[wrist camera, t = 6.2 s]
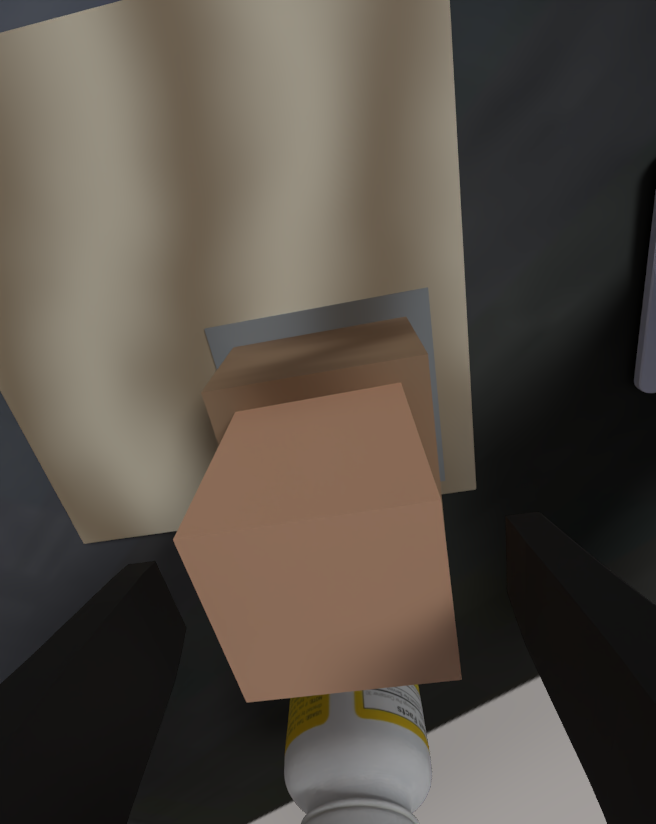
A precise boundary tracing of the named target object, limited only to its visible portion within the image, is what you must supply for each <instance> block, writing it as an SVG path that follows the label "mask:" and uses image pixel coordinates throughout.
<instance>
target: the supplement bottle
mask: <svg viewBox="0 0 656 824" xmlns="http://www.w3.org/2000/svg"><path fill="white" fill-rule="evenodd" d="M430 760H431V759H430V752H429V746H428V739H427V734H426V728H425V723H424V717H423V710H422V704H421V699H420V693H419V687H418V684H417V685H407V686H398V687H389V688H379V689H370V690H360V691H351V692H342V693H332V694H323V695H313V696H304V697H295V698H290V706H289V717H288V727H287V738H286V747H285V764H284V777H285V783H286V786H287V789H288V792H289V794H290V795H291V797H292V799H293V800H294V802H295V803H296V804H297V805H298V806H299V808H300V809H302V811H304V812H305V813H306V814H307V815H306V816H305V817H304V818H303V820H302V823H301V824H419V822H418V820H417V819H416V817H415V816H414V815H413V814H412V813H413V812H414V811H416V810H417V809H418V808H419V807H420V806H421V804H422V803H423V802H424V800H425V798H426V797H427V795H428V792H429V790H430V787H431V780H432V767H431V761H430Z"/></svg>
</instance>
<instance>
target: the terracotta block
mask: <svg viewBox="0 0 656 824" xmlns="http://www.w3.org/2000/svg"><path fill="white" fill-rule="evenodd" d="M173 541H174V543H175V546H176V548H177V550H178V552H179V554H180V557H181V559H182V561H183V563H184V565H185V568H186V570H187V572H188V574H189V576H190V579H191V581H192V583H193V585H194V587H195V590H196V592H197V594H198V596H199V599H200V601H201V603H202V605H203V607H204V610H205V612H206V614H207V616H208V618H209V621H210V623H211V625H212V627H213V629H214V632H215V634H216V636H217V638H218V640H219V643H220V645H221V647H222V649H223V652H224V654H225V656H226V658H227V660H228V663H229V665H230V667H231V669H232V671H233V674H234V676H235V678H236V680H237V682H238V685H239V687H240V689H241V691H242V693H243V696H244V698H245V700H246V702H247V703H248V702H257V701H266V700H276V699H285V698H295V697H304V696H313V695H323V694H332V693H342V692H351V691H360V690H370V689H379V688H389V687H398V686H407V685H417V684H426V683H436V682H445V681H454V680H462V677H461V668H460V659H459V651H458V642H457V633H456V625H455V616H454V607H453V599H452V590H451V581H450V573H449V564H448V555H447V547H446V538H445V529H444V521H443V512H442V503H441V498H440V495H439V492H438V489H437V486H436V484H435V481H434V478H433V475H432V472H431V469H430V466H429V463H428V460H427V457H426V454H425V451H424V448H423V446H422V443H421V440H420V437H419V434H418V431H417V428H416V425H415V422H414V419H413V416H412V413H411V410H410V408H409V405H408V402H407V399H406V396H405V393H404V390H403V387H402V384H401V383H395V384H389V385H384V386H378V387H373V388H367V389H361V390H356V391H350V392H345V393H339V394H333V395H328V396H322V397H317V398H311V399H305V400H300V401H294V402H289V403H283V404H277V405H272V406H266V407H261V408H255V409H249V410H244V411H238V412H235V413H234V415H233V417H232V420H231V422H230V424H229V426H228V428H227V430H226V432H225V434H224V436H223V438H222V440H221V442H220V444H219V446H218V448H217V450H216V452H215V454H214V457H213V459H212V461H211V463H210V465H209V467H208V469H207V471H206V473H205V475H204V477H203V479H202V481H201V483H200V485H199V487H198V489H197V491H196V494H195V496H194V498H193V500H192V502H191V504H190V506H189V508H188V510H187V512H186V514H185V516H184V518H183V520H182V522H181V524H180V526H179V528H178V531H177V533H176V535H175V537H174V539H173Z"/></svg>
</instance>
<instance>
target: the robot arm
mask: <svg viewBox="0 0 656 824" xmlns="http://www.w3.org/2000/svg"><path fill="white" fill-rule="evenodd" d="M634 385H635V386H636V387H637V388H638V389H639V390H641V391H643V392H645V393H656V191H655V200H654V209H653V218H652V226H651V235H650V244H649V252H648V261H647V270H646V279H645V287H644V296H643V305H642V313H641V322H640V331H639V340H638V348H637V357H636V366H635V374H634ZM506 560H507V593H508V596H509V599H510V602H511V605H512V608H513V611H514V614H515V617H516V619H517V622H518V625H519V628H520V631H521V634H522V636H523V639H524V642H525V645H526V647H527V649H528V651H529V653H530V656H531V658H532V660H533V662H534V664H535V666H536V669H537V671H538V673H539V675H540V677H541V679H542V681H543V684H544V686H545V688H546V690H547V692H548V694H549V696H550V698H551V701H552V703H553V705H554V707H555V709H556V711H557V713H558V715H559V718H560V720H561V722H562V724H563V726H564V728H565V730H566V732H567V735H568V736H569V739H570V741H571V743H572V745H573V747H574V749H575V751H576V753H577V756H578V758H579V760H580V762H581V764H582V766H583V769H584V771H585V773H586V775H587V777H588V779H589V782H590V784H591V786H592V788H593V791H594V793H595V795H596V798H597V800H598V802H599V805H600V807H601V809H602V811H603V814H604V817H605V819H606V822H607V824H656V605H655V604H653V603H652V602H651V601H649V600H648V599H647V598H645V597H644V596H643V595H641V594H640V593H639V592H638V591H636V590H635V589H634V588H632V587H631V586H630V585H628V584H627V583H626V582H625V581H623V580H622V579H621V578H619V577H618V576H617V575H615V574H614V573H613V572H612V571H610V570H609V569H608V568H607V567H605V566H604V565H603V564H602V563H600V562H599V561H598V560H597V559H595V558H594V557H593V556H592V555H591V554H589V553H588V552H587V551H586V550H584V549H583V548H582V547H581V546H580V545H578V544H577V543H576V542H575V541H574V540H572V539H571V538H570V537H569V536H568V535H566V534H565V533H564V532H563V531H562V530H560V529H559V528H558V527H557V526H556V525H554V524H553V523H552V522H551V521H550V520H548V519H547V518H546V517H545V516H544V515H542V514H541V513H540V512H530V513H522V514H515V515H507V516H506ZM185 633H186V626H185V624H184V622H183V619H182V617H181V615H180V613H179V611H178V609H177V607H176V605H175V602H174V600H173V598H172V596H171V594H170V592H169V590H168V587H167V585H166V583H165V581H164V579H163V577H162V575H161V572H160V570H159V568H158V566H157V564H156V562H155V561H152V562H144V563H136V564H129V565H127V566H126V567H125V568H124V569H122V570H121V571H120V572H119V573H118V574H117V575H116V576H115V577H113V578H112V579H111V580H110V581H109V582H108V583H107V584H106V585H105V586H104V587H103V588H102V589H101V590H100V591H99V592H98V593H96V594H95V595H94V596H93V597H92V598H91V599H90V600H89V601H88V602H87V603H86V604H85V605H84V606H83V607H82V608H81V609H80V610H79V611H78V612H77V613H76V614H75V615H74V616H73V617H72V618H71V619H70V620H68V621H67V622H66V623H65V624H64V625H63V626H62V627H61V628H60V629H59V630H58V631H57V632H56V633H55V634H54V635H53V636H52V637H51V638H50V639H49V640H48V641H47V642H45V643H44V644H43V645H42V646H41V647H40V648H39V649H38V650H37V651H36V652H35V653H34V654H33V655H32V656H31V657H30V658H29V659H28V660H26V661H25V662H24V663H23V664H22V665H21V666H20V667H19V668H18V669H17V670H15V671H14V672H13V673H12V674H11V675H10V676H9V677H8V678H7V679H5V680H4V681H3V682H2V683H1V684H0V824H127V821H128V818H129V815H130V811H131V808H132V806H133V803H134V800H135V797H136V794H137V791H138V788H139V785H140V782H141V779H142V776H143V774H144V771H145V768H146V765H147V762H148V759H149V756H150V753H151V750H152V747H153V745H154V742H155V739H156V736H157V733H158V730H159V727H160V724H161V721H162V718H163V715H164V712H165V709H166V706H167V703H168V701H169V698H170V695H171V692H172V688H173V685H174V682H175V679H176V675H177V670H178V666H179V662H180V657H181V653H182V648H183V643H184V638H185Z"/></svg>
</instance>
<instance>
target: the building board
mask: <svg viewBox="0 0 656 824" xmlns="http://www.w3.org/2000/svg"><path fill="white" fill-rule="evenodd" d="M400 317H407V319H408V320H409V322H410V324H411V326H412V327H413V329H414V331H415V332H416V334H417V336H418V338H419V339H420V341H421V343H422V344H423V346H424V348H425V350H426V351H427V353H428V359H429V369H430V380H431V390H432V401H433V411H434V422H435V432H436V443H437V453H438V463H439V474H440V484H441V494H447V493H454V492H461V491H468V490H475V489H476V476H475V458H474V439H473V421H472V403H471V384H470V366H469V347H468V329H467V311H466V292H465V274H464V255H463V237H462V219H461V200H460V182H459V163H458V145H457V127H456V108H455V90H454V71H453V53H452V35H451V16H450V0H122V1H118V2H115V3H111V4H107V5H103V6H99V7H96V8H92V9H88V10H84V11H81V12H77V13H73V14H69V15H66V16H62V17H58V18H54V19H51V20H47V21H43V22H39V23H36V24H32V25H28V26H24V27H21V28H17V29H13V30H9V31H6V32H2V33H0V391H1V393H2V395H3V396H4V398H5V400H6V402H7V404H8V406H9V407H10V409H11V411H12V413H13V415H14V417H15V418H16V420H17V422H18V424H19V426H20V428H21V429H22V431H23V433H24V435H25V437H26V439H27V440H28V442H29V444H30V446H31V448H32V450H33V451H34V453H35V455H36V457H37V459H38V460H39V462H40V464H41V466H42V468H43V470H44V471H45V473H46V475H47V477H48V479H49V481H50V482H51V484H52V486H53V488H54V490H55V492H56V493H57V495H58V497H59V499H60V501H61V503H62V504H63V506H64V508H65V510H66V512H67V514H68V515H69V517H70V519H71V521H72V523H73V525H74V526H75V528H76V530H77V532H78V534H79V536H80V537H81V539H82V541H83V543H84V544H86V543H93V542H100V541H107V540H114V539H122V538H129V537H136V536H143V535H151V534H158V533H165V532H172V531H178V528H179V526H180V524H181V522H182V520H183V518H184V516H185V514H186V512H187V510H188V508H189V506H190V504H191V502H192V500H193V498H194V496H195V494H196V491H197V489H198V487H199V485H200V483H201V481H202V479H203V477H204V475H205V473H206V471H207V469H208V467H209V465H210V463H211V461H212V459H213V457H214V454H215V452H216V450H217V448H218V446H219V445H218V442H217V439H216V436H215V433H214V430H213V427H212V424H211V421H210V418H209V415H208V412H207V409H206V406H205V403H204V400H203V397H202V394H201V392H202V391H203V389H204V388H205V386H206V385H207V383H208V382H209V381H210V379H211V378H212V376H213V375H214V374H215V372H216V371H217V369H218V368H219V367H220V365H221V364H222V362H223V361H224V360H225V358H226V357H227V355H228V354H229V353H230V351H231V350H232V348H233V347H238V346H244V345H249V344H255V343H261V342H266V341H272V340H277V339H283V338H288V337H294V336H300V335H305V334H311V333H316V332H322V331H327V330H333V329H339V328H344V327H350V326H355V325H361V324H367V323H372V322H378V321H383V320H389V319H394V318H400Z"/></svg>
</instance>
